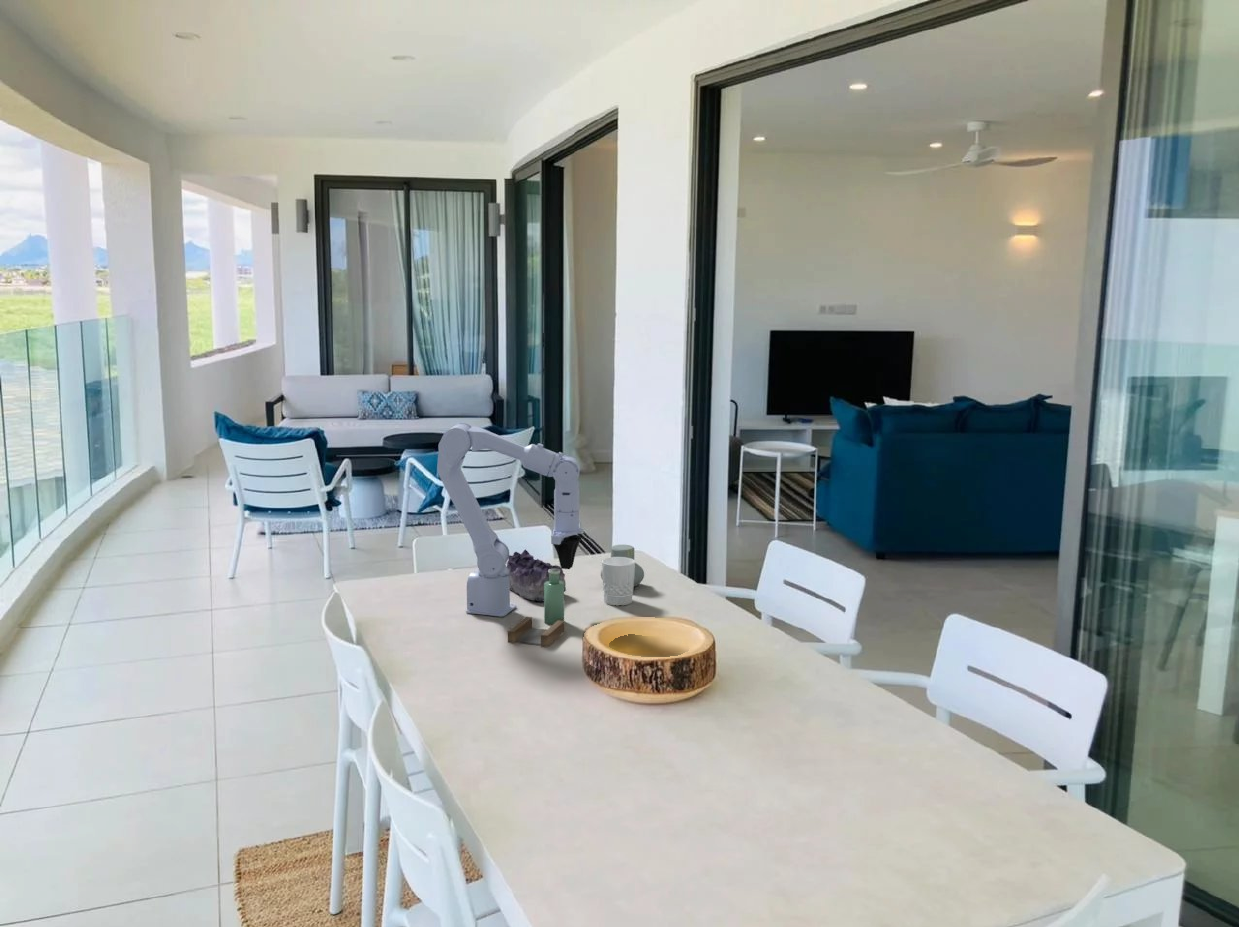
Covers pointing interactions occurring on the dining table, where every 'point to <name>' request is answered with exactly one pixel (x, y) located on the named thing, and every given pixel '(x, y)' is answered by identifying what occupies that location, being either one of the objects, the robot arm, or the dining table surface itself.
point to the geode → (530, 575)
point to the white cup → (618, 580)
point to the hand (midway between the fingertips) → (566, 567)
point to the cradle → (535, 633)
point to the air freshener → (628, 553)
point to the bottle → (553, 598)
